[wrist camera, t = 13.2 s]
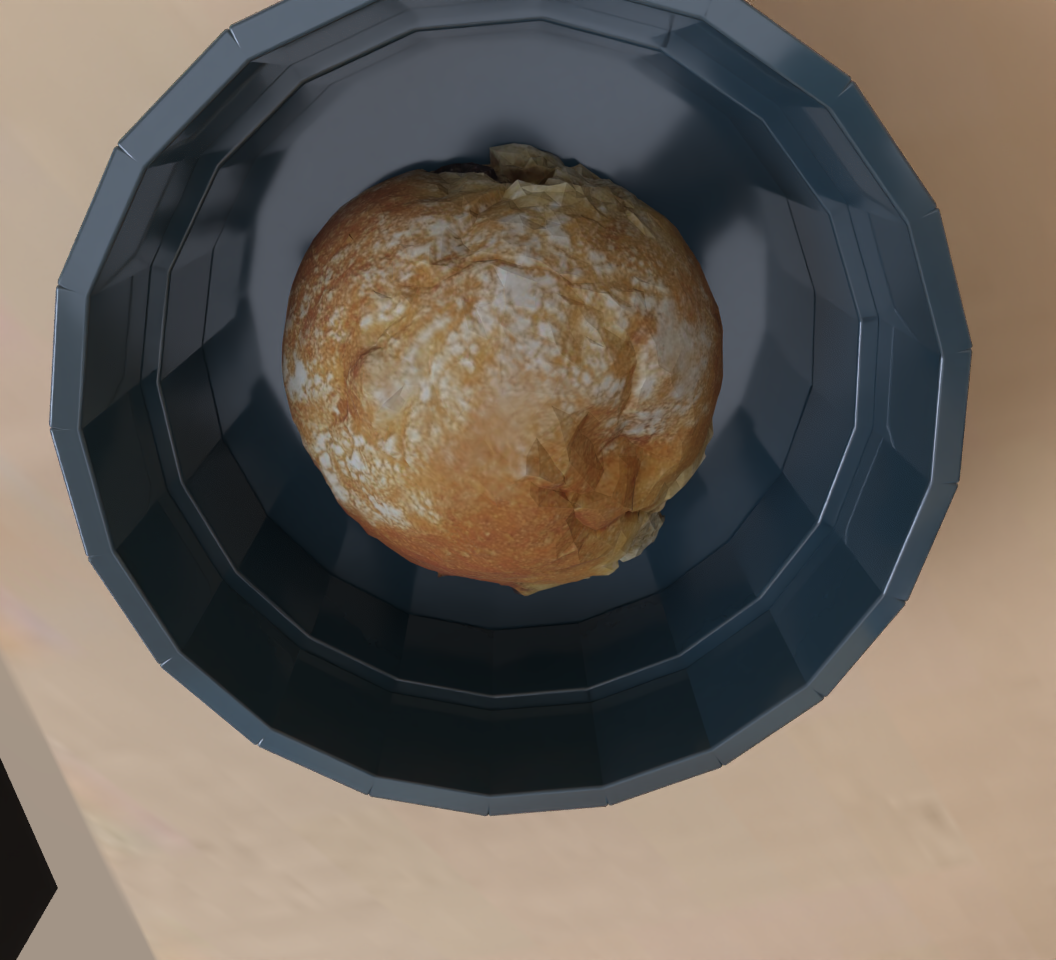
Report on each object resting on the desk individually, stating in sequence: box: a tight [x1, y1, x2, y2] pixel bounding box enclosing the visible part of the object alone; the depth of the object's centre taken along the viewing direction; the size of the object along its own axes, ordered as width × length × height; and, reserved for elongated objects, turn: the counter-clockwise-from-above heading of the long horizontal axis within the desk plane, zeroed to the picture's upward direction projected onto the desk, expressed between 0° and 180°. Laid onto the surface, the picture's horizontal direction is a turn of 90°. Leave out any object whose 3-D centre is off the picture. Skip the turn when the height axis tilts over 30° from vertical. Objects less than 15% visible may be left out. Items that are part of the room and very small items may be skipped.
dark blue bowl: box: [49, 0, 972, 816], centre depth 21 cm, size 17×17×7 cm
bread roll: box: [282, 143, 723, 596], centre depth 22 cm, size 10×10×8 cm
